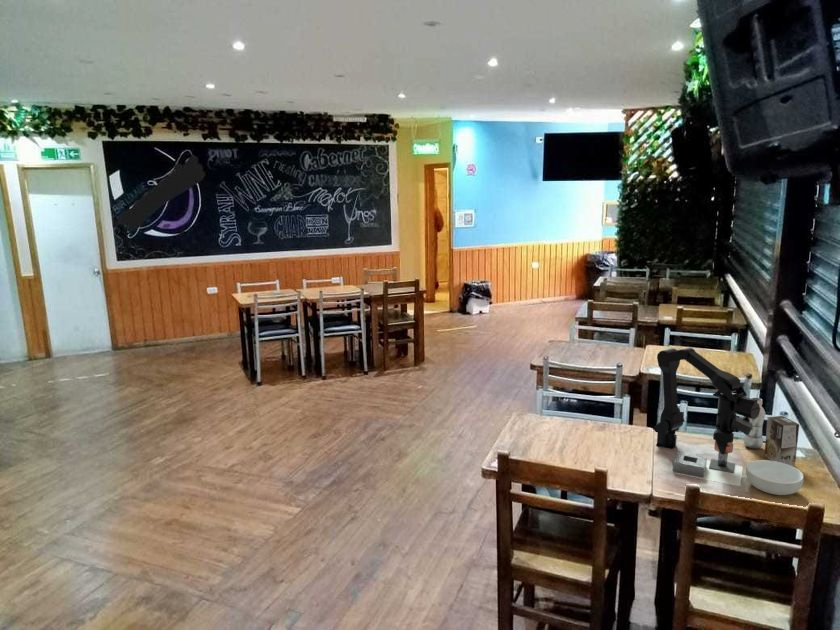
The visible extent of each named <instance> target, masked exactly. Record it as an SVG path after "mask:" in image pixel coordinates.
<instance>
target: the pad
mask: <svg viewBox="0 0 840 630" xmlns="http://www.w3.org/2000/svg"><path fill="white" fill-rule="evenodd" d="M710 460H711V462H710V466H709V469H714V470H719V471H724V472H729V473H734V468H735V465H736V463H735V462H729V461H727V466H726V467H722V466H719V465H718V459H713V458H711V459H710Z"/></svg>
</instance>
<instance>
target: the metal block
mask: <svg viewBox="0 0 840 630" xmlns="http://www.w3.org/2000/svg"><path fill="white" fill-rule="evenodd" d="M707 460H708V457H707V456H706V455H705V456H704V455H699V454H694V453H688V452H683V451H677V452H676V454H675V456H674V459H673V461H672V473H674V472H675V473H674V474H676V473H680V474H679V475H681V474H685V475H684V476H686V475H690V476H689V477H691V476H695V477H694V478H696V477H700V478H699V479H701V478H703V477H704V473H705V470H706V463H707Z"/></svg>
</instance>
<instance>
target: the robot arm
mask: <svg viewBox="0 0 840 630" xmlns="http://www.w3.org/2000/svg"><path fill="white" fill-rule="evenodd" d="M656 360H657V364H658V367H659V369H660V370H661V372H662V385H663V387H662V388H663V409H662V412H661V414H660V417H659V418H660V421H659V422H658V423H657V424H655V425H654V426H653V429H654V432H655V433H657V436H656V437H657V439H656V444H655V447H659V448H665V449H671V450H674V449H675V447H676V446H677V439H678V435H677V434H676V432H677V431H679V430H680V428H681V427H682V426H683V425H684V423H685V417H684V416H685V412H684V411H681V409H680V408H679V407H678V384H677V371H678V369H679V367H680V364H681V361H682V360H683V361H685V362H687V363H688V364H690V365H691V366H692V367H694V369H697V370H698V371H699V372H700V373H702V374H703V375H704V376H705V377H707V378H708V379H709V380H710V381H711V383H712V385H713V387H714V388H715V389H716V390H717V391H716V392H714V393H712V396H713V397H716V398H718V402H717V403H718V404H717V412H716V424H715V427H716V429H715V430H714V431H713V436H712V440H714V442H715V441H716V443H717V446H718V448H719V451H720V453H721V454H723V455H724V454H725V451H726V448H727V445H728V443H733V442H734V438H735V437H734V436H735V434H734V433H735V432H736V430H737V432H738V431H739V432H741V433H743V434H744V435H745V434H746V435H749V433H750V431H751V429H752V428H753V424H752V423H750V419H749V418H751V419H756V418H757V417H758V415H759V413H760V406H759V404H758V403H757V400H756V399H752V397H751V398H750V397H747V396H748V394H747V393H746V391H745V389H744V388H743V386H742V384H741V379H740V378H739V377H737V376H736V375H735V374H732V373H730V372H727V371H725V370H722V369H720V368H718V367H717V366H715V365H714V364H713V363H711V362H710V361H709V360H708V359H706V358H705V357H703V356H702V355H701V354H699V353H698V352H697V351H696V350H695V349H694V348H692V347H688V348H687V347H686V348H683V349H676V348H667V349H664V350H661V351H658V353H657V354H656ZM734 392H735V393H734ZM737 415H739V416H740V417H738V416H737ZM741 416H742V417H741ZM733 444H734V443H733Z"/></svg>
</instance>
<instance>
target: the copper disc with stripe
mask: <svg viewBox="0 0 840 630" xmlns="http://www.w3.org/2000/svg"><path fill="white" fill-rule="evenodd" d="M713 448H714V450H715V451H716V452H718V453H717V454H718V455H717V460H718V465H719V466H722V467H726V466H727V462H728V457H729V456H728V455H729V454H730V453H731V454H732V453H733V452H734V443H728V445H727V448H726V451H725V454H724V455H723V454H721V453H720V451H719V448H718V446H717V443H716V441H715V440H714V447H713Z"/></svg>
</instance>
